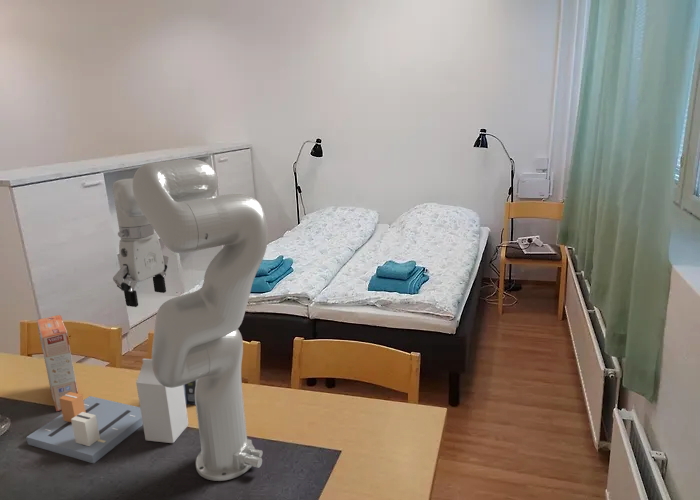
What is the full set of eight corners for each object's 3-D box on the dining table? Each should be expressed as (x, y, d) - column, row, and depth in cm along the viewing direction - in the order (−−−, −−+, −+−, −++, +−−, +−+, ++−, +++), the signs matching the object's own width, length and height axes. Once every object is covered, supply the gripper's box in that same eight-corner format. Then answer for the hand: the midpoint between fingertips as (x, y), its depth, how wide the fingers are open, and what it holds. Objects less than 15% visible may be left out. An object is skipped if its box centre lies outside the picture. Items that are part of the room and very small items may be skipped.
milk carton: (173, 444, 117) (162, 368, 112) (145, 440, 118) (133, 366, 113) (188, 425, 124) (179, 353, 119) (162, 422, 125) (151, 351, 120)
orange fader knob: (86, 416, 125) (82, 394, 123) (76, 423, 122) (71, 400, 120) (74, 413, 126) (69, 391, 125) (63, 420, 124) (58, 397, 122)
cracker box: (82, 404, 134) (67, 330, 128) (55, 413, 131) (39, 337, 125) (74, 382, 145) (61, 313, 139) (50, 389, 142) (35, 319, 136)
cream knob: (100, 438, 116) (95, 414, 115) (89, 446, 114) (84, 422, 112) (86, 434, 118) (82, 411, 116) (75, 442, 115) (70, 418, 113)
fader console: (152, 417, 128) (151, 409, 127) (93, 463, 111) (92, 455, 111) (91, 402, 135) (89, 395, 134) (27, 444, 118) (26, 436, 118)
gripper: (121, 241, 113) (133, 313, 118) (173, 224, 129) (182, 288, 133) (95, 239, 116) (107, 310, 121) (150, 222, 131) (158, 285, 136)
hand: (146, 298), depth 127 cm, fingers open, 9 cm apart
